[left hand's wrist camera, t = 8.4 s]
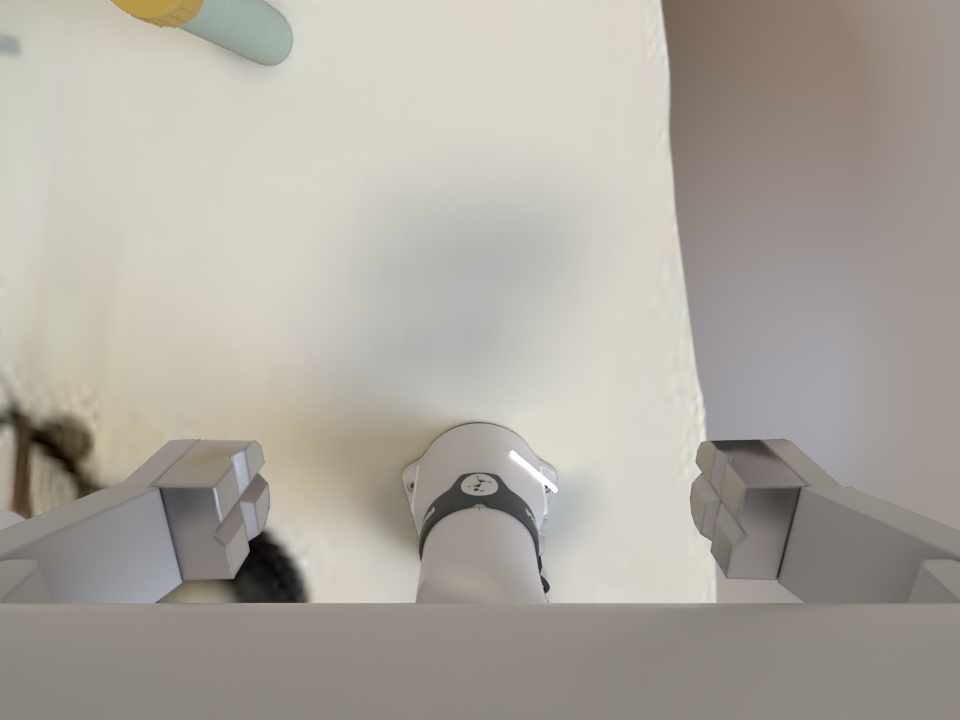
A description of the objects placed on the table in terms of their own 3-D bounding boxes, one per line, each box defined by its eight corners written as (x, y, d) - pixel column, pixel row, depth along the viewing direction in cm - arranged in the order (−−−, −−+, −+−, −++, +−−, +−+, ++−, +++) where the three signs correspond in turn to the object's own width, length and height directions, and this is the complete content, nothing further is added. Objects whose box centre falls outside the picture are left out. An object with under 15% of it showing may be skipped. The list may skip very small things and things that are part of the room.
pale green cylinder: (244, -3, 48) (103, -100, 30) (297, 16, 49) (189, -68, 31) (236, 55, 50) (97, -5, 32) (287, 73, 50) (179, 24, 32)
